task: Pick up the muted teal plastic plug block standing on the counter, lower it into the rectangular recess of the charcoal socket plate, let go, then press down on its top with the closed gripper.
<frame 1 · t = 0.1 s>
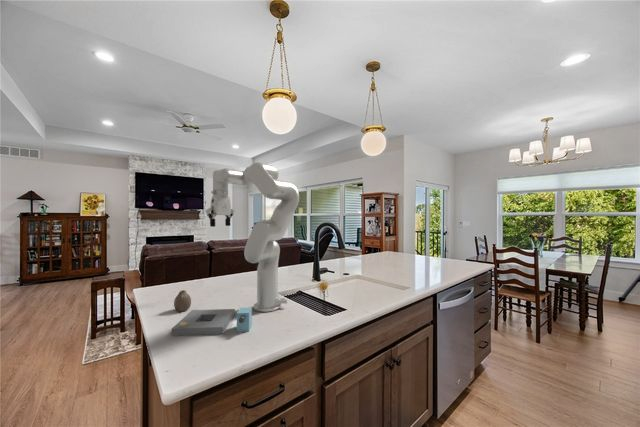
hand: (220, 226, 139), 37 cm above the countertop, tool pointing down, fingers open, 9 cm apart
socket plate: (206, 324, 104), on the countertop
plug: (244, 328, 100), on the countertop
brown egg-shaped lump: (182, 310, 119), on the countertop
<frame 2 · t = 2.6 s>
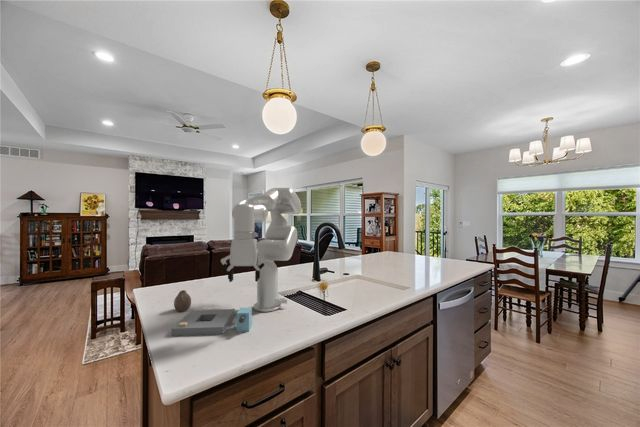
hand: (244, 280, 100), 18 cm above the countertop, tool pointing down, fingers open, 9 cm apart
nothing on the countertop moved.
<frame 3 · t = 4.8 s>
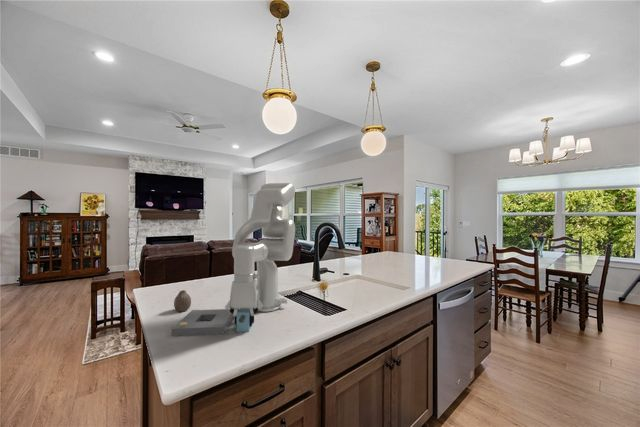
hand: (244, 324, 100), 1 cm above the countertop, tool pointing down, fingers closed on plug, 4 cm apart
plug: (244, 328, 100), on the countertop, touching gripper
everything else where it was.
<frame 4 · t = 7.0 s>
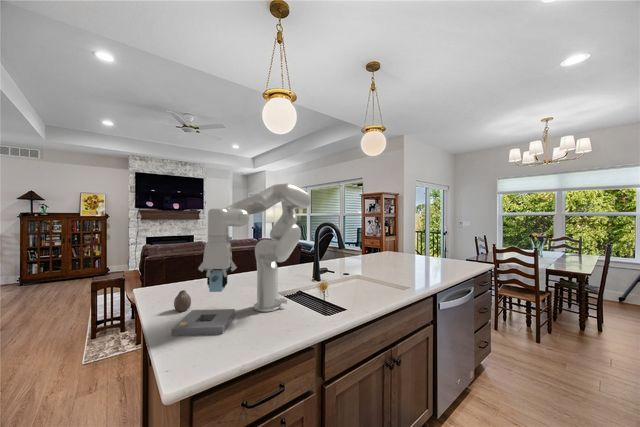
hand: (217, 286, 102), 16 cm above the countertop, tool pointing down, fingers closed on plug, 4 cm apart
plug: (217, 289, 102), point 14 cm above the countertop, touching gripper
everything else where it was.
when the fingers open (3 cm above the countertop, at t = 9.4 s): plug drops 2 cm, resting in socket plate.
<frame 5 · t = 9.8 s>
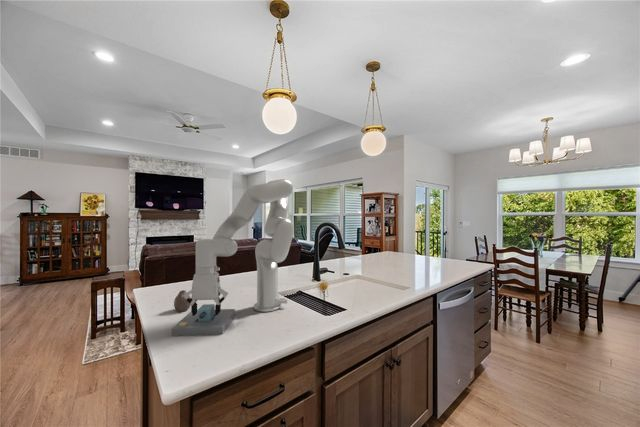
hand: (206, 314, 104), 4 cm above the countertop, tool pointing down, fingers open, 8 cm apart
plug: (206, 324, 104), resting in socket plate
everything else where it was.
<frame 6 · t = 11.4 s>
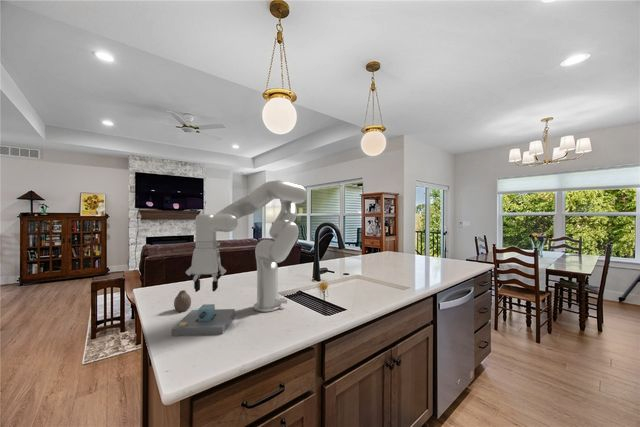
hand: (206, 290, 104), 14 cm above the countertop, tool pointing down, fingers open, 5 cm apart
nothing on the countertop moved.
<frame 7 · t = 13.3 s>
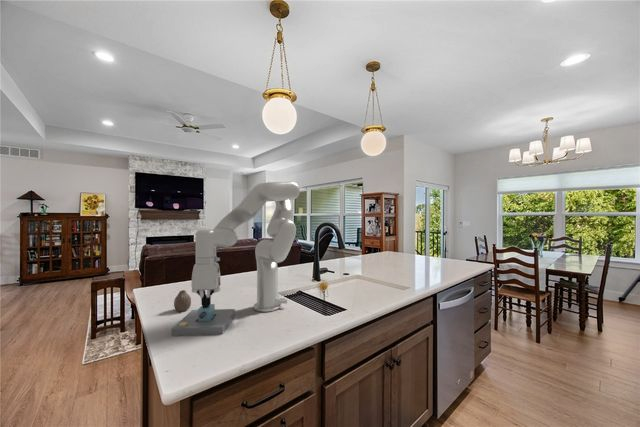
hand: (206, 306, 104), 7 cm above the countertop, tool pointing down, fingers closed
plug: (206, 324, 104), resting in socket plate, touching gripper
everything else where it was.
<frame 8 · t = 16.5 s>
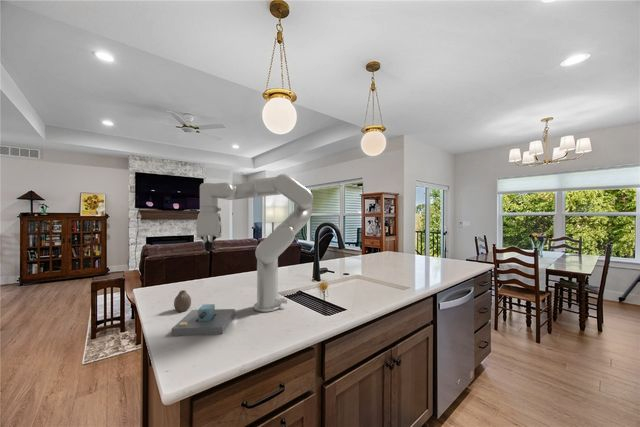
hand: (208, 250, 118), 27 cm above the countertop, tool pointing down, fingers closed
plug: (206, 324, 104), resting in socket plate
everything else where it was.
at the end: plug 0.1 cm from the socket plate (horizontally); plug resting in socket plate; plug tilted 0° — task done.
